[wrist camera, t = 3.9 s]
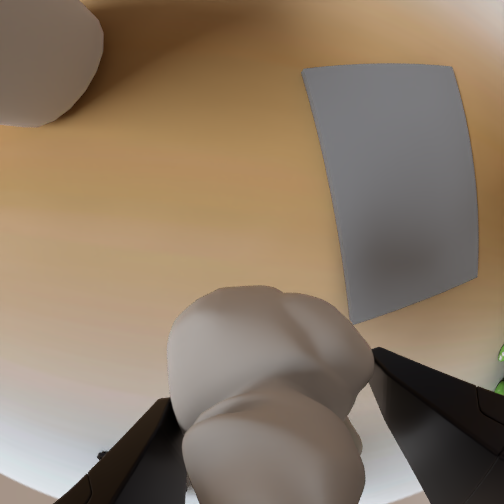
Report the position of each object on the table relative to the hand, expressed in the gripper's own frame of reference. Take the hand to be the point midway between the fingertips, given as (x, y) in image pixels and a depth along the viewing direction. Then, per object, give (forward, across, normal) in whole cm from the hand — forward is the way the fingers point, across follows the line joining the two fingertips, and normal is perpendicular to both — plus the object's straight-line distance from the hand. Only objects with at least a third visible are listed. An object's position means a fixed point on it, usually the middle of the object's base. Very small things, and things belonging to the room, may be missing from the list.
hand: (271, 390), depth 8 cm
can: (+9, +8, -15) cm, 19 cm away
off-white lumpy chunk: (+2, 0, 0) cm, 2 cm away
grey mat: (+8, -10, -3) cm, 13 cm away
